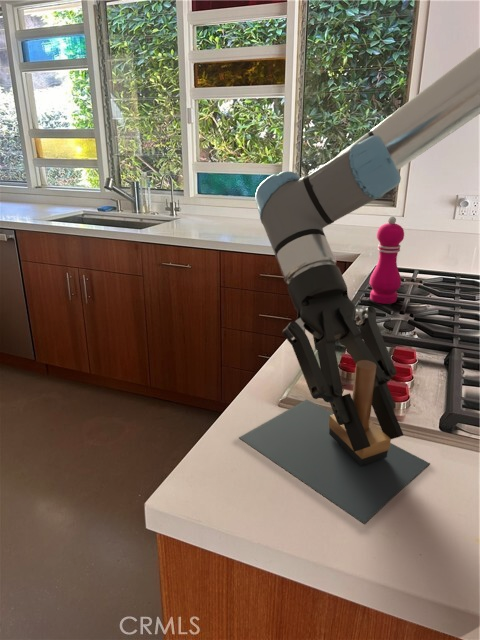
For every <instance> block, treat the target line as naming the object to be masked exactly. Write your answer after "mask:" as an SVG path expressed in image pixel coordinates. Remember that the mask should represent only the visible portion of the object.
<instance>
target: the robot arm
mask: <svg viewBox="0 0 480 640" xmlns="http://www.w3.org/2000/svg"><path fill="white" fill-rule="evenodd" d="M479 115H480V47H479V48H477V49H476V50H474V51H473V52H472V53H470V55H468V56H467V57H466V58H464V59H463V60H462V61H459V63H457V64H456V65H455V66H454V67H452V68H451V69H449V70H448V71H446V72H445V73H444V74H443V75H441V76H440V77H439V78H438V79H436V80H435V81H434V82H432V83H431V84H429V85H428V86H427V87H426V88H424V89H423V90H421V91H420V92H419V93H417V95H415V96H414V97H412V98H411V99H410V100H409V101H407V102H406V103H405V104H404V105H402V106H401V107H399V108H397V110H395V111H394V112H393V113H391V114H390V115H389V116H387V117H386V118H385V119H384V120H382V121H381V122H379V123H378V124H377V125H376V126H374V127H373V128H372V129H371V130H370V131H368V132H367V133H365V134H364V135H362V136H360V137H359V138H358V139H357V140H356V141H354V142H353V143H352V144H351V145H349V146H346V147H345V148H344V149H342V150H341V151H340V152H339V153H338V154H336V156H335V157H334V158H332V159H331V160H329V161H328V162H326V163H325V164H323V165H321V166H320V167H319V168H317V169H315V170H314V171H312V172H311V173H309V174H307V175H305V176H302V177H301V176H300V175H299V174H297V173H296V172H294V171H288V170H287V171H286V170H285V171H281V172H279V174H271V175H269V176H267V177H266V179H264V180H263V181H262V182H261V183H260V184H259V186H258V187H257V188H256V192H255V197H254V198H255V204H256V208H257V210H258V214H259V220H260V222H261V224H262V226H263V228H264V230H265V231H264V232H265V233H266V236H267V238H268V240H269V244H270V246H271V248H272V251H273V253H274V256H275V258H276V261H277V264H278V267H279V270H280V273H281V275H282V277H283V281H284V282H285V284H287V291H288V294H289V297H290V300H291V303H292V305H293V308H294V309H295V310H296V312H297V316H296V320H292V321H290V322H289V323H288V325H287V326H286V327H285V328H284V329H283V330H282V335H283V336H284V338H285V339H286V340H287V341H288V343H289V344H290V345H291V346H292V349H293V352H294V354H295V357H296V360H297V362H298V364H299V367H300V370H301V373H302V375H303V378H304V380H305V383H306V385H307V388H308V391H309V394H310V395H311V397H312V398H313V399H315V400H318V399H322V400H323V401H324V402H325V403H329V405H330V407H331V409H332V413H334V415H335V417H336V421H337V423H338V424H339V425H343V424H344V426H345V429H346V432H347V434H348V437H349V440H350V442H351V445H352V448H353V450H354V452H355V451H358V450H361V449H364V448H367V447H370V443H369V441H368V438H367V436H366V433H365V430H364V428H363V425H362V423H361V420H360V418H359V415H358V413H357V410H356V407H355V405H354V402H353V400H352V397H353V396H352V394H351V393H346V394H344V395H343V393H344V389H343V384H342V379H341V373H340V369H339V363H338V357H337V352H336V348H335V342H336V340H338V342H339V344H340V345H341V346H343V347H344V348H345V349H346V351H347V352H348V354H349V355H350V357H351V359H352V360H353V362H354V364H356V363H357V362H358V361H360V360H368V361H371V362H374V363H375V364H376V366H377V367H376V375H375V383H374V390H373V398H372V406H371V408H372V409H373V411H374V414H375V417H376V419H377V422H378V424H379V427H380V430H382V431H383V432H384V433H385V434H386V435H387V436H389V437H390V438H391V440H395V439H397V438H400V437H403V436H404V432H403V430H402V428H401V426H400V423H399V420H398V418H397V416H396V413H395V411H394V409H396V402H395V400H394V397H393V396H392V393H391V391H390V388H389V386H388V383H389V382H390V381H391V380H392V377H394V376H396V375H397V369H396V367H395V365H394V362H393V360H392V357H391V355H390V352H389V350H388V348H387V345H386V343H385V339H384V338H383V335H382V333H381V331H380V327H379V325H378V323H377V311H376V308H375V307H374V306H372V305H371V306H368V307H367V308H362V307H357V306H356V304H355V303H354V302H353V301H352V300H351V299H350V297H349V294H348V285H347V283H346V281H345V279H344V276H343V274H342V271H341V269H340V267H339V266H337V259H336V256H335V255H334V252H333V250H332V248H331V245H330V243H329V241H328V239H327V236H326V234H325V233H324V228H326V227H328V226H329V225H332V224H333V223H334V222H336V221H337V220H340V219H342V218H344V217H345V216H347V215H349V214H351V213H353V212H354V211H356V210H358V209H360V208H362V207H363V206H365V205H367V204H369V203H371V202H373V201H375V200H376V199H377V200H378V199H381V198H382V197H383V196H384V195H386V194H387V193H388V192H390V191H391V190H393V189H395V188H396V187H398V186H399V185H400V183H401V180H402V178H401V174H400V172H399V170H400V169H402V168H403V167H405V166H406V165H408V164H409V163H411V162H412V161H413V160H415V159H416V158H418V157H419V156H421V155H422V154H424V153H425V152H426V151H428V150H430V149H432V147H433V146H435V145H437V144H438V143H440V142H441V141H443V140H444V139H445V138H447V137H448V136H450V135H451V134H453V133H454V132H456V131H457V130H459V129H460V128H461V127H463V126H464V125H466V124H468V123H469V122H470V121H472V120H473V119H474V118H476V117H478V116H479ZM375 311H376V312H375ZM358 327H359V328H358ZM306 331H307V332H308V333H309V334H310V335H311V336H312V338H313V343H314V348H315V350H316V351H317V356H318V359H317V356H316V354H315V352H314V349H313V346H312V345H311V342H310V339H309V337H308V336H307V334H306ZM318 361H319V362H318Z"/></svg>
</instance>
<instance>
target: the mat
mask: <svg viewBox="0 0 480 640" xmlns="http://www.w3.org/2000/svg"><path fill="white" fill-rule="evenodd" d="M333 414H334V413H333V411H330V410H329V409H327V408H324V407H322V406H321V405H318V404H317V403H315V402H313V401H311V400H309V399H305V400H303V401H301V402H300V403H297V404H296V405H294V406H293V407H292V406H291V408H289V409H287V410H285V411H283V412H281V413H279V414H278V415H276V416H275V417H273V418H271V419H269V420H267V421H266V422H263V423H262V424H260V425H259V426H256V427H255V428H253V429H252V430H250V431H248V432H246V433H244V434H242V435H241V436H239V437H238V439H240V440H241V441H242V442H244V443H245V444H247V445H248V446H250V447H251V448H253V449H254V450H255V451H257V452H258V453H260V454H261V455H263V456H264V457H266V458H267V459H269V460H270V461H272V462H273V463H274V464H276V465H277V466H279V467H280V468H282V469H283V470H285V471H286V472H287V473H289V474H290V475H292V476H293V477H295V478H296V479H298V480H299V481H301V482H302V483H304V484H305V485H307V486H308V487H310V489H312V490H314V491H315V492H317V493H318V494H320V495H321V496H323V497H324V498H325V499H327V500H328V501H330V502H331V503H333V504H334V505H335V506H337V507H339V508H340V509H341V510H343V511H345V512H346V513H347V514H349V515H350V516H352V517H353V518H355V519H356V520H358V521H359V522H360V523H362V524H363V525H365V524H366V523H367V522H368V521H369V520H370V519H372V518H373V517H374V516H375V515H376V514H377V513H378V512H379V511H381V509H383V508H384V507H385V506H386V505H387V504H388V503H389V502H391V500H393V498H395V497H396V496H397V494H399V493H400V492H401V491H403V489H404V488H405V487H406V486H407V485H408V484H410V483H411V482H412V481H413V480H414V479H415V478H416V477H417V476H418V475H420V474H421V472H423V471H424V470H425V469H426V468H427V467H428V466H429V465H430V464H431V463H430V462H428V461H427V460H424V459H423V458H420V457H419V456H417V455H415V454H413V453H411V452H409V451H407V450H405V449H403V448H402V447H400V446H397V445H396V444H393V443H392V442H390V448H389V450H388V453H387V457H386V458H383V459H381V460H378V461H375V462H372V463H369V464H366V465H363V466H360V465H359V464H358V463H357V462H356V461H355V460H354V459H353V458H352V457H351V456H350V454H349V453H348V452H347V451H346V450H345V449H344V448H343V447H342V446H341V445H340V444H339V443H338V442H337V441H336V440H335V439H334V438H333V437H332V436H331V435H330V434H329V429H330V427H329V416H330V415H333Z"/></svg>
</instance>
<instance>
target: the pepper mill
mask: <svg viewBox="0 0 480 640" xmlns="http://www.w3.org/2000/svg"><path fill="white" fill-rule="evenodd" d="M396 222H397V218H396V217H395V216H390V217H388V219H387V223H384V224H382V225H381V226H379V228H378V229H377V231H376V239H377V241H378V242H379V243H378V244H377V251H378V252H379V253H378V261H377V263H376V265H375V268H374V269H373V271H372V273H371V275H370V278H369V282H368V283H369V287H370V288H371V289H372V290H370V293H369V294H370V295H369V299H370V301H372V302H373V303H377V304H382V305H383V304H384V305H388V304H389V305H391V304H394V303H396V302H397V300H398V292H397V291H398V290H399V289H400V288H401V286H402V278H401V274H400V271H399V268H398V265H397V261H398V260H397V259H398V254H399V252H401V243H402V241H403V240H404V238H405V230H404V228H403V227H402V226H401V225H400V224H398V223H396Z"/></svg>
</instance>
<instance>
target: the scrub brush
mask: <svg viewBox="0 0 480 640" xmlns="http://www.w3.org/2000/svg"><path fill="white" fill-rule="evenodd" d="M376 367H377V366H376V364H375V363H374V362H371V361H368V360H360V361H358V362H357V363H355V368H354V369H355V370H354V378H353V387H352V396H351V397H352V400H353V402H354V405H355V407H356V410H357V413H358V415H359V418H360V420H361V423H362V425H363V428H364V430H365V433H366V436H367V438H368V441H369V443H370V447H367V448H364V449H361V450H358V451H355V452H354V450H353V448H352V445H351V442H350V440H349V437H348V434H347V432H346V429H345V426H344V424H343V425H339V424H338V423H337V421H336V417H335V415H334V414H333V415H330V416H329V427H330V429H329V434H330V435H331V436H332V437H333V438H334V439H335V440H336V441H337V442H338V443H339V444H340V445H341V446H342V447H343V448H344V449H345V450H346V451H347V452H348V453H349V454H350V456H351V457H352V458H353V459H354V460H355V461H356V462H357V463H358V464H359V465H360V466H363V465H366V464H369V463H372V462H375V461H378V460H381V459H383V458H386V457H387V453H388V450H389V448H390V443H391V441H392V439H391V438H390V437H389V436H387V435H386V434H385V433H384V432H383V431H382V429H381V428H379V427H378V426H377V425H376V424H375V423H374V422H372V421H371V413H372V398H373V390H374V383H375V375H376Z"/></svg>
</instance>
